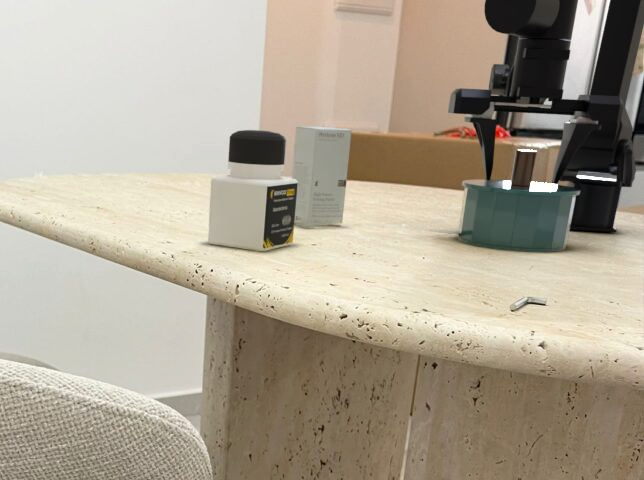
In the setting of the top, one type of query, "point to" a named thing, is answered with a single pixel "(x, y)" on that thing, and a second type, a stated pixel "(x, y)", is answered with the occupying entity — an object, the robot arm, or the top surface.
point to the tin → (515, 221)
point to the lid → (522, 180)
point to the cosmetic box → (320, 175)
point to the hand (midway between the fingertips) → (520, 182)
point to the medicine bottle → (253, 195)
